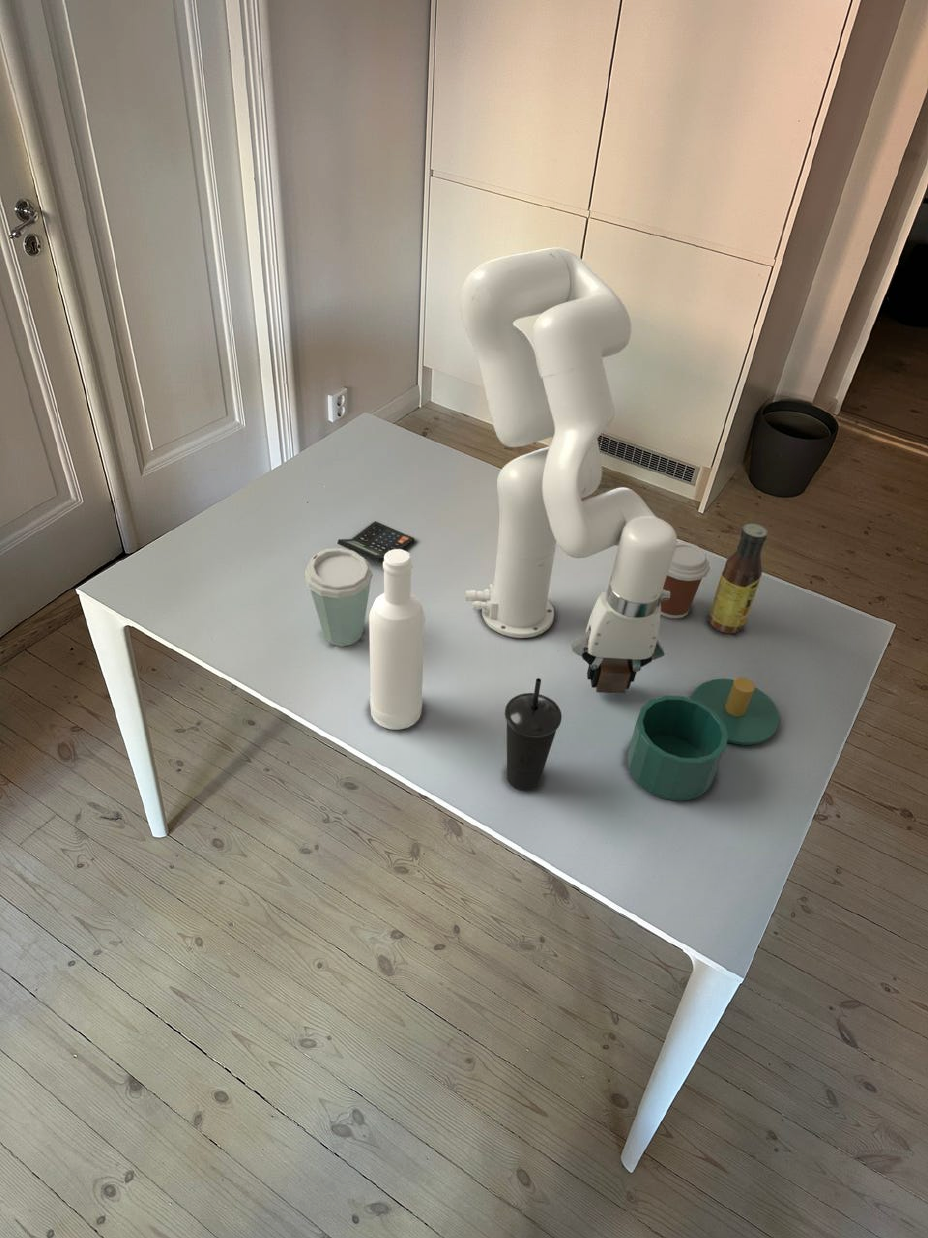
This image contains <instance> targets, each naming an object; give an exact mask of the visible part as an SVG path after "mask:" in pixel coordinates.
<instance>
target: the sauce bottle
mask: <svg viewBox="0 0 928 1238" xmlns="http://www.w3.org/2000/svg"><path fill="white" fill-rule="evenodd" d="M768 533H769V532H768V530H767V528H765V527H764V526H762V525H760V524H757V523H747V524H745V525H744V526H742V529H741V532H740V539H739V543H738V544H737V547H736V550H735V551H733V552H732V553H731V554H730V555H728V557H727V559H726V561H725V563H724V568H723V570H722V572H721V575H720V579H719V582H718V585H717V589H716V592H715V595H714V597H713V601H712V605H711V609H710V612H709V613H710V614H709V619H708V620H709V623H710V625H711V626H712V627H713V628H714V629H715V630H717V631H719V632H721V633H724V634H731V635H732V634H736V633H739V632H740V631H741V630H742V629H743V627H744V625H745V624H746V622H747V619H748V615H749V613H750V610H751V607H752V604H753V602H754V599H755V596H756V592H757V590H758V587H759V584H760V581H761V578H762V574H763V570H762V568H763V567H762V559H761V558H762V557H761V553H762V550H763V547H764V543H765V542H766V541H767V537H768Z"/></svg>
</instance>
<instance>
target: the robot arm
mask: <svg viewBox="0 0 928 1238" xmlns="http://www.w3.org/2000/svg"><path fill="white" fill-rule="evenodd" d="M459 308H460V314H461V320H462V323H463V326H464V327H463V328H464V329H465V332H466V335H467V337H468V340H469V342H470V344H471V346H472V349H473V350H474V353H475V356H476V358H477V362H478V364H479V365H478V366H479V369H480V375H481V380H482V383H483V387H484V391H485V392H484V393H485V398H486V402H487V405H488V406H487V407H488V411H489V415H490V419H491V422H492V426H493V429H494V432H495V434H496V437H497V439H498V440H499V442H500V443H501V444H503V445H504V446H506V447H509V448H520V447H524V446H528V445H531V444H532V445H533V444H535V443H538V442H540V441H544V440H547V439H549V438H551V443H550V445H548V446H546V447H544V448H540V449H537V450H534V451H531V452H528V453H526V454H525V453H524V454H522V455H520V456H518V457H515V458H514V459H512V460H510V461H509V462H508V463H506V464H505V465H504V466H503V467H502V468H501V470H500V471H499V473H498V476H497V479H496V493H497V500H498V501H497V502H498V508H499V509H498V510H499V516H498V517H499V519H498V522H499V523H498V532H497V533H498V535H497V546H496V557H495V567H494V578H493V583H490V585H489V589H488V588H485V589H483V590H476V589H475V590H474V589H473V590H470V589H466V590H465V602H472V610H481V615H482V616H481V617H482V618H483V620H484V622H485V624H486V625H487V626H488V627H489V628H490V629H492V630H493V631H495V632H496V633H498V634H500V635H503V636H506V637H510V638H516V639H527V638H533V637H537V636H540V635H541V634H544V633H545V632H546V631H548V630H549V629H550V628H551V626H552V624H553V622H554V617H555V610H554V606H553V605H552V603H551V602H550V601H549V599H548V597H549V592H550V586H551V581H552V580H551V579H552V573H553V567H554V559H555V553H556V546H557V545H558V547H559V549H560V550H561V551H562V552H563V553H564V554H565V555H567V556H569V557H571V558H574V559H586V558H588V557H592V556H594V555H596V554H598V553H601V552H603V551H605V550H607V549H609V548H612V547H614V546H617V550H616V555H615V558H614V563H613V567H612V570H611V574H610V579H609V583H608V586H607V590H606V591H605V590H604V591H602V592H601V593H600V594H599V596H598V598H597V600H596V602H595V604H594V606H593V608H592V611H591V613H590V617H589V619H588V622H587V625H586V629H585V632H584V633H583V634H582V635H580V637H578V638H577V639H575V640H574V641H572V643H571V644H570V645H571V651H572V652H573V653H575V655H577V656H580V657H581V658H582V660H583V661H584V662H586V663H587V665H588V667H587V671H586V677H587V680H589V681H590V684H591V688H594V689H596V686H597V683H598V679H599V675H600V664H601V662H602V661H603V659H604V658H620V659H628V664H629V670H630V677H629V681H628V684H627V687H626V690H630V687H631V683H634V682H635V679H636V676H637V673H638V672H640V671H641V669H642V667H644V666H646V665H648V664H650V663H652V662H653V660H655V661H656V660H658V659H660V658H662V657H664V656H665V655H666V653H665V649H664V647H663V645H662V643H661V641H659V639H658V638H659V633H660V626H661V616H662V615H661V605H660V602H661V601H662V600H669V599H670V591H665V590H663V587H664V583H665V580H666V577H667V574H668V570H669V567H670V564H671V561H672V557H673V554H674V551H675V547H676V543H677V542H678V540H677V539H678V537H677V536H678V535H677V533H676V531H675V529H674V527H673V526H672V525H671V524H670V523H668V522H667V521H665V520H664V519H662V518H658V517H657V515H656V514H655V513H654V512H653V511H652V510H651V509H650V507H649V506H648V505H647V504H646V502H645V501H644V500H643V499H642V497H641V496H640V495H639V494H638V493H637V492H635V491H634V490H633V489H631V488H629V487H617V488H613V489H611V490H608V491H606V492H603V493H601V494H598V495H594V496H593V497H590V498H588V499H585V500H582V499H583V498H587V497H588V496H590V495H592V494H593V493H595V492H596V491H597V489H598V488H599V486H600V484H601V482H602V478H603V477H602V476H603V463H602V456H601V450H600V445H599V440H598V439H599V437H600V436H601V435H602V433H603V432H604V431H605V430H606V429H607V427H609V426H610V424H611V423H612V421H613V419H614V418H615V407H614V403H613V399H612V394H611V390H610V386H609V381H608V378H607V377H608V376H607V373H606V369H605V365H604V360H603V358H607V357H610V356H614V355H616V354H619V353H621V352H623V350H625V349H626V348H627V346H628V345H629V342H630V340H631V337H632V321H631V318H630V314H629V312H628V310H627V308H626V306H625V304H624V303H623V301H622V299H621V298H620V297H619V295H618V294H617V293H616V292H615V291H614V289H613V288H612V287H611V286H610V285H609V284H608V283H606V281H605V280H604V279H603V278H602V277H601V276H599V274H597V272H596V271H594V270H593V269H592V268H591V267H590V266H589V265H588V264H587V263H586V262H585V261H584V260H583V259H582V258H581V257H579V256H578V255H577V254H576V253H574V252H573V251H571V250H570V249H567V248H564V247H548V248H543V249H537V250H532V251H527V252H522V253H516V254H512V255H507V256H501V257H498V258H495V259H492V260H491V259H490V260H489V261H485V262H484V263H481V264H480V265H477V266H476V267H475V268H473V269H472V270H471V271H470V272H469V273H468V274H467V276H466V277H465V279H464V281H463V283H462V286H461V290H460V297H459ZM538 315H539V316H538ZM534 316H538V317H537V318H536V320H535V322H534V324H533V327H532V342H533V343H532V342H531V340H530V339H529V337H528V336H527V335H526V333H525V332H524V331H523V330H522V329H521V328H520V327H519V326H518V325H517V324H516V323H515V322H516V321H518V320H520V319H524V318H528V317H534Z"/></svg>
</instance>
